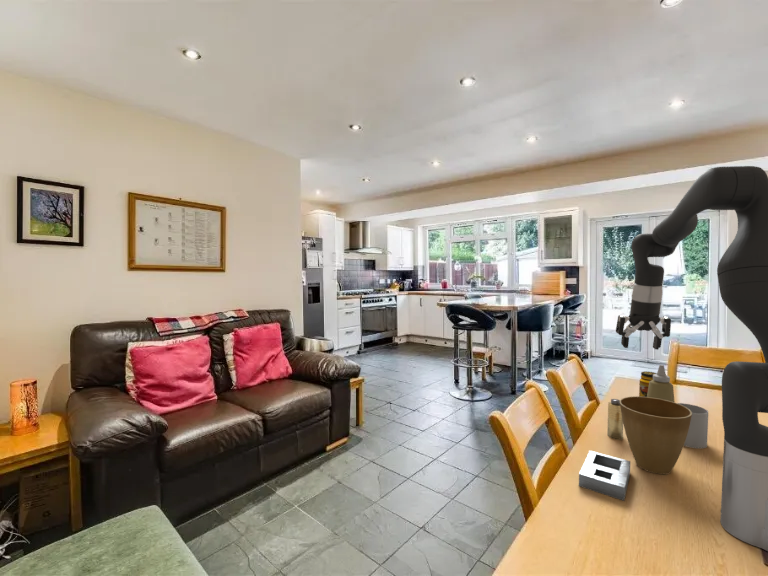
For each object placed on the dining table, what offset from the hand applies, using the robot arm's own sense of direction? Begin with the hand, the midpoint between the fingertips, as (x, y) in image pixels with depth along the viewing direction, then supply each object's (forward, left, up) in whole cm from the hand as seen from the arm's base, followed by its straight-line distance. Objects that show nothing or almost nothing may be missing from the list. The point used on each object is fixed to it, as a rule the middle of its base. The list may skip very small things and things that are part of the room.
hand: (640, 347), depth 117 cm
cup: (-12, -5, -26) cm, 29 cm away
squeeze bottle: (+4, -14, -26) cm, 30 cm away
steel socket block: (-22, +34, -26) cm, 48 cm away
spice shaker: (-4, +13, -26) cm, 29 cm away
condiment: (+15, -22, -26) cm, 38 cm away
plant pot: (-20, +18, -26) cm, 37 cm away
